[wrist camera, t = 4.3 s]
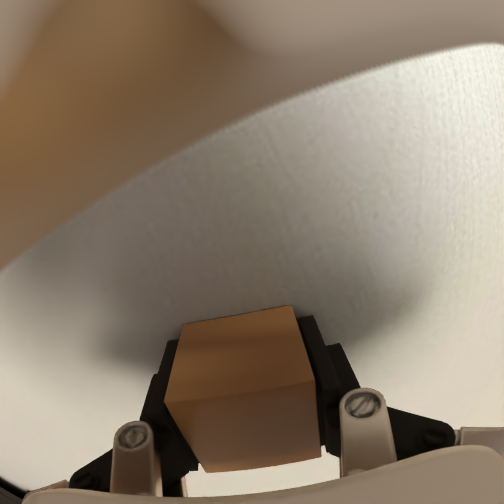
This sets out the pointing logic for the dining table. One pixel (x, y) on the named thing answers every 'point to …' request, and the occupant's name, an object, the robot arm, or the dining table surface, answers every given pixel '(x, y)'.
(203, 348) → the block
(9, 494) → the drawer with bar handle
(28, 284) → the dining table surface
